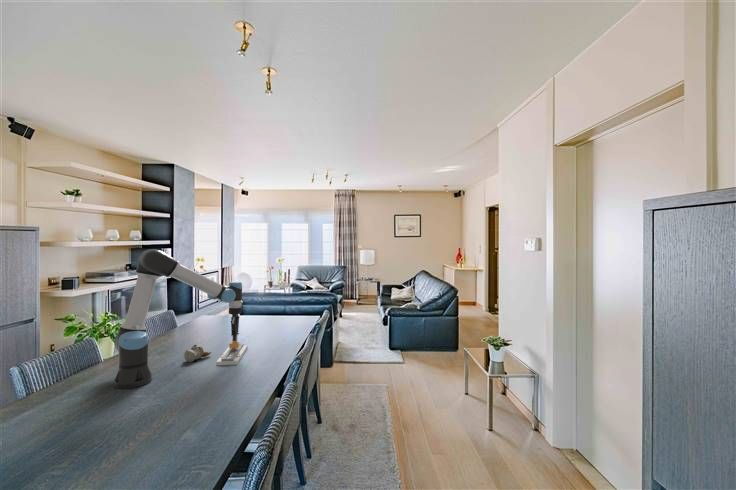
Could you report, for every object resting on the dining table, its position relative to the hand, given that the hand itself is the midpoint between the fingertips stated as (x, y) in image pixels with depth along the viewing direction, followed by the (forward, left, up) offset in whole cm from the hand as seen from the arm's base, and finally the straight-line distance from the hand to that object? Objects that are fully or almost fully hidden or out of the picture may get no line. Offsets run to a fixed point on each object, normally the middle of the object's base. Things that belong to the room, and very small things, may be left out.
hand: (234, 345), depth 214 cm
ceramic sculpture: (-8, +20, -5) cm, 22 cm away
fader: (-2, 0, -3) cm, 3 cm away
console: (-5, 0, -5) cm, 7 cm away
